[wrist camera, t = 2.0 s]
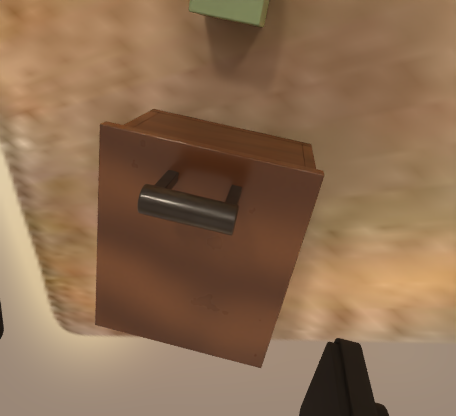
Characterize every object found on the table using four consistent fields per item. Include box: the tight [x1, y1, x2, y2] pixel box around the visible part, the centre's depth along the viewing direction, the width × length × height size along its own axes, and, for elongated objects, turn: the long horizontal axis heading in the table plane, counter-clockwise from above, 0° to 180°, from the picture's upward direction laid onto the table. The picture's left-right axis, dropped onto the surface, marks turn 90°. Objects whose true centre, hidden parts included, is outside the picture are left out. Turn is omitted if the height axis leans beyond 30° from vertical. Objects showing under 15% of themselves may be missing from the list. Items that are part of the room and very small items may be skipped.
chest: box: [124, 109, 316, 169], centre depth 30 cm, size 16×14×9 cm
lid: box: [95, 122, 324, 368], centre depth 23 cm, size 16×14×5 cm
